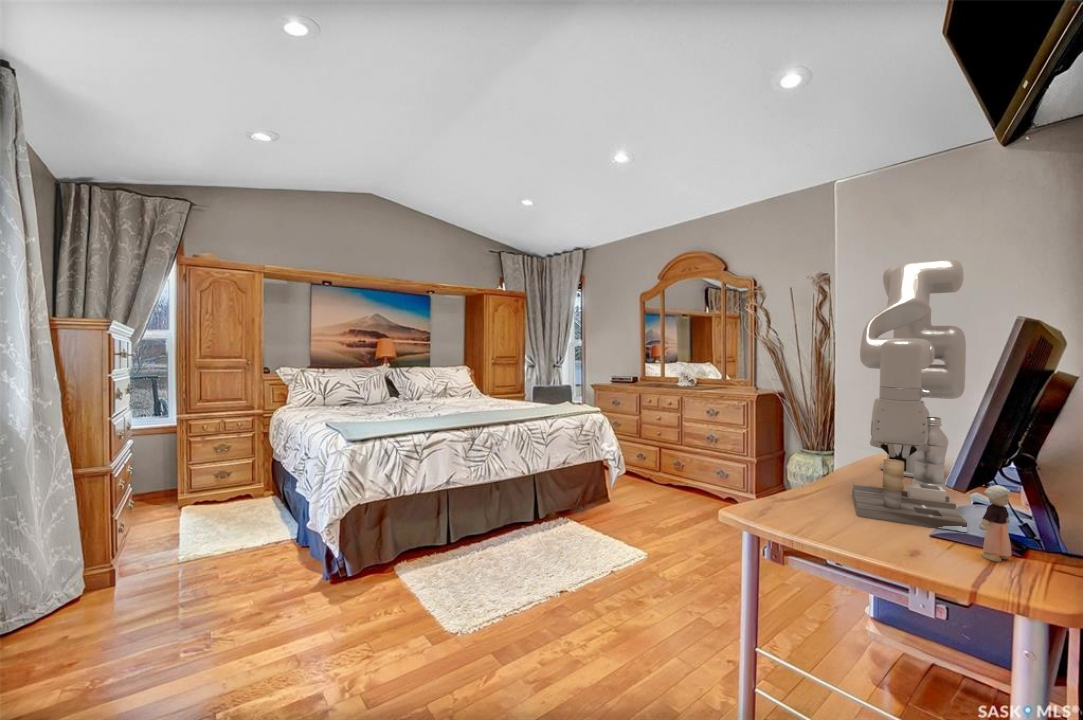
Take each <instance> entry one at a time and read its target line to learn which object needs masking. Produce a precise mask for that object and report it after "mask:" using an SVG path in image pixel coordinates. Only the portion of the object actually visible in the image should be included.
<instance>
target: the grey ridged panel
mask: <svg viewBox="0 0 1083 720" xmlns="http://www.w3.org/2000/svg"><path fill="white" fill-rule="evenodd" d="M851 497H852V500H854V501H853V505H854V506H855V510H856V511H855V512H856V514H857V515H856V516H857V517H860V518H861V517H862V518H868V519H872V520H873V519H875V520H879V521H887V522H894V523H899V524H900V523H901V524H906V525H914V526H920V527H926V528H933V529H938V527H943V526H962V527H967V528H968V522H967V521H966V520H965V519H964V518H963V516H962V515H961V514H960V513H959V512H958V511H957V509H956V508H957V505H956V503H954V502H950V496H949V495H948V496H947V495H946V496H945V502H940V501H933V500H925V499H918V498H910V497H908V496H907V490H903V491H902V493H901V509H891V508H887V507H885V506H884V488H883V487H878V486H872V485H871V486H869V485H862V484H854V483H853V484H852V488H851Z"/></svg>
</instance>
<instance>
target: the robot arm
mask: <svg viewBox="0 0 1083 720" xmlns="http://www.w3.org/2000/svg"><path fill="white" fill-rule="evenodd" d="M964 273H965V272H964V267H963V265H962V263H961V262H960V261H959V260H958V259H940V260H939V259H936V260H923V261H913V262H907V263H906V262H905V263H903V264H898V265H893V266H890V267H888V268H887V269H886V270H884V272H883V275H882V276H883V277H882V282H883V287H884V290H885V292H886V296H887V303H886V305H887V307H885V308H883V309H882V310H879V312H876V314H875V315H874V316H873V317H872V318H871V319H870V320H869V321H868V322H867V323H866V324H865V326H864V328H863V330H862V335H861V341H860V342H861V343H860V349H859V358H860V362H861V364H862V365H863V366H865V368H868V369H875V370H879V396H878V398H875V399H874V401H873V405H872V413H871V422H870V436H871V437H870V440H869V444H870V446H871V447H873V448H878V449H882V451H884V452H885V453H886V459H894V460H900V461H903V462H904V477H910V478H914V472H915V461H916V460H915V452H916V451H927V450H928V445H927V440H928V427H927V416H930V415H931V414H930V412H929V409H928V408H927V407H926V404H925V401H924V400H922V399H923V398H927V399H948V400H953V399H960V398H961V397H962V396H963V394H964V392H965V388H966V387H965V386H966V359H967V358H966V355H967V347H966V345H967V344H966V343H967V342H966V336H965V332H964V331H963V329H962V328H960V327H958V326H956V325H932V308H931V306H930V297H931V294H946V293H947V294H948V293H949V294H950V293H957V292H959V291H960V289H961V287H962V286H963V283H964V276H965V275H964ZM890 331H892V332H893V336H892V337H881V336H883V335H884V334H885V333H887V332H890ZM935 360H939V361H942V362H943V363H944V364H941V363H939V364H935V363H933V362H934V361H935ZM879 465H880V466H879V469H880V468H881V469H883V463H881V464H879ZM881 469H880V470H881Z"/></svg>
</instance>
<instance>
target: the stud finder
mask: <svg viewBox="0 0 1083 720" xmlns="http://www.w3.org/2000/svg"><path fill="white" fill-rule="evenodd" d="M906 487H907V488H906V489H907V490H906V491H907V496H908V497H910V498H918V499H925V500H933V501H940V502H945V495H946V496H947V491H946V492H945V490H944V489H943V488H942V487H939V486H931V485H922V484H914V483H912V482H907V486H906Z"/></svg>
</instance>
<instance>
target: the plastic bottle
mask: <svg viewBox="0 0 1083 720" xmlns="http://www.w3.org/2000/svg"><path fill="white" fill-rule="evenodd" d="M927 427H928V440H927V445H928V450H927V451H916V452H915V460H916V461H915V472H914V477H913V478H912V480H911V481H912V482H911V483H914V484H922V485H931V486H939V487H942V488H943V489H944V490H945V492H946V493H947V487H945V486H946V483H945V482H946V481H945V461H946V454H947V452H948V446H949V439H948V437H947V435H946V433H945V432H944V431H943V430H942V429H941V427H942V417H937V416H927ZM945 496H947V494H946V495H945Z"/></svg>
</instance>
